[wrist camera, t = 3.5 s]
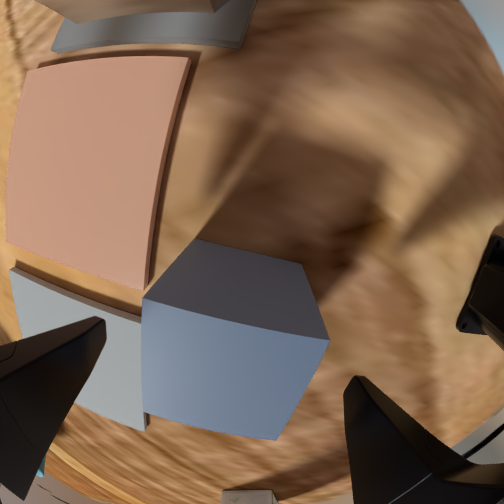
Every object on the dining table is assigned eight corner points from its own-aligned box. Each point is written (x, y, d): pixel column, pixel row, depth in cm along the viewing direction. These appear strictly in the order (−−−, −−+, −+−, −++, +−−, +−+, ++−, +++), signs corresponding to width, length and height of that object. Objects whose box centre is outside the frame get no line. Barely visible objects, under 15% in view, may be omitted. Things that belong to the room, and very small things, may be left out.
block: (301, 263, 12) (330, 340, 7) (272, 348, 14) (276, 440, 8) (194, 238, 12) (142, 298, 7) (180, 327, 14) (143, 411, 8)
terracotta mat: (191, 62, 10) (188, 57, 9) (147, 286, 13) (143, 291, 12) (33, 72, 9) (27, 70, 9) (12, 239, 13) (6, 241, 12)
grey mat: (145, 318, 14) (141, 324, 13) (147, 426, 17) (144, 432, 16) (14, 266, 13) (9, 269, 13) (40, 377, 16) (36, 381, 16)
